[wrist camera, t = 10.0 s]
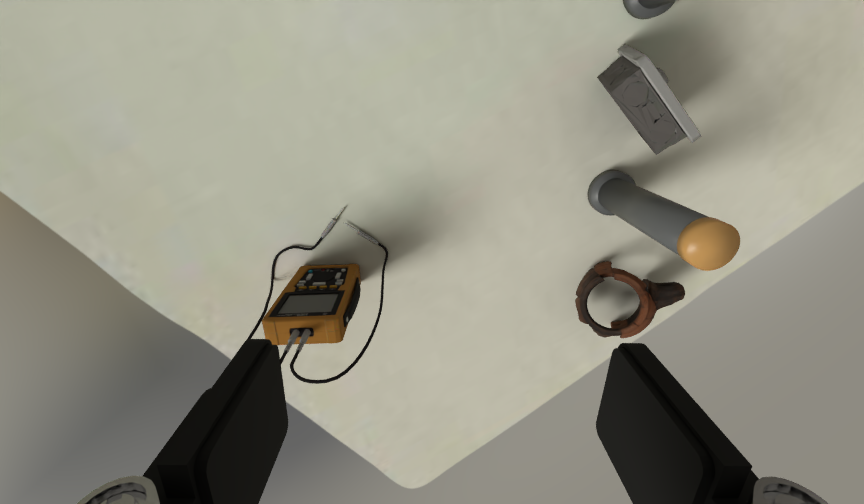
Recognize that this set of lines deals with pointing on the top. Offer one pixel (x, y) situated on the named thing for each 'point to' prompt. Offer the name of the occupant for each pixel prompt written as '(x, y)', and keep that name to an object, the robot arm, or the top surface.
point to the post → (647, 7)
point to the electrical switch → (647, 100)
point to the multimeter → (316, 306)
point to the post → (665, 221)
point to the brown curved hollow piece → (648, 292)
